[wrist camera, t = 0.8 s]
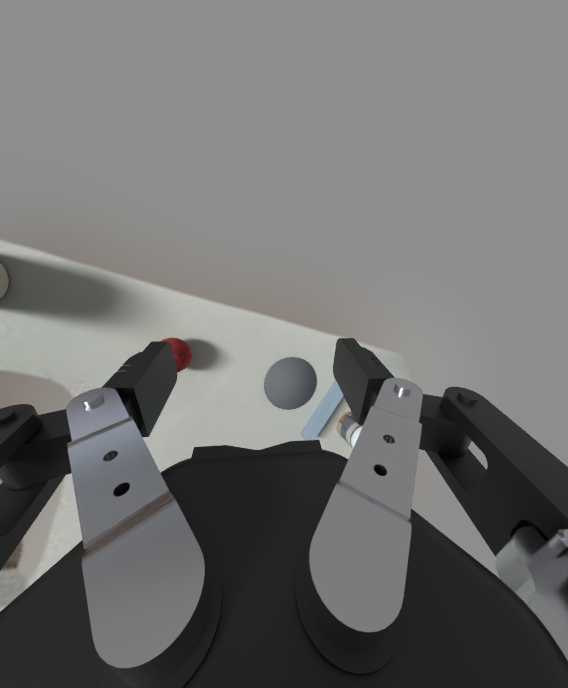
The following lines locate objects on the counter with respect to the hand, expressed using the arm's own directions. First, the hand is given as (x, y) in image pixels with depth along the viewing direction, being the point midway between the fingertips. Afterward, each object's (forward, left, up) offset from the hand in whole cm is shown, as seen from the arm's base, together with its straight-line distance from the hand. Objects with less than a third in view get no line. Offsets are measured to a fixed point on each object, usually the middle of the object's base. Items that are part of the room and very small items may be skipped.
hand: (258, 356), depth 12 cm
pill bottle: (-5, -35, -35) cm, 49 cm away
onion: (-10, +4, -35) cm, 36 cm away
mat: (-4, -18, -34) cm, 39 cm away
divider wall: (-4, -27, -34) cm, 44 cm away
